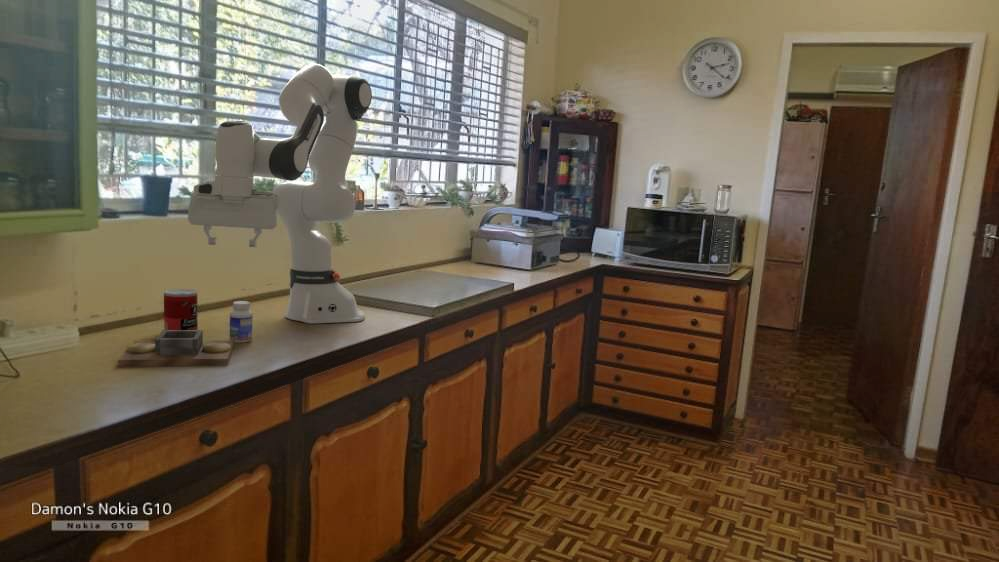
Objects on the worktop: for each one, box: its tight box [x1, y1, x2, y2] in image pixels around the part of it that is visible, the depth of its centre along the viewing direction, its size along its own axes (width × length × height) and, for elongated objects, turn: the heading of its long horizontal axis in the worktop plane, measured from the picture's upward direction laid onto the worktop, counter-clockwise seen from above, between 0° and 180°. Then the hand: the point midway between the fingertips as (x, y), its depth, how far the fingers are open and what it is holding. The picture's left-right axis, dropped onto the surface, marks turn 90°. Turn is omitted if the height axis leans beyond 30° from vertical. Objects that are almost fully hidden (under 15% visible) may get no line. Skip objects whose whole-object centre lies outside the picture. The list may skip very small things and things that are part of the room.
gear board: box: [117, 329, 236, 368], centre depth 164 cm, size 22×16×5 cm
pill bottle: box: [229, 300, 253, 344], centre depth 180 cm, size 5×5×10 cm
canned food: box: [163, 288, 199, 330], centre depth 182 cm, size 8×8×11 cm
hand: (232, 245), depth 175 cm, fingers open, 8 cm apart
